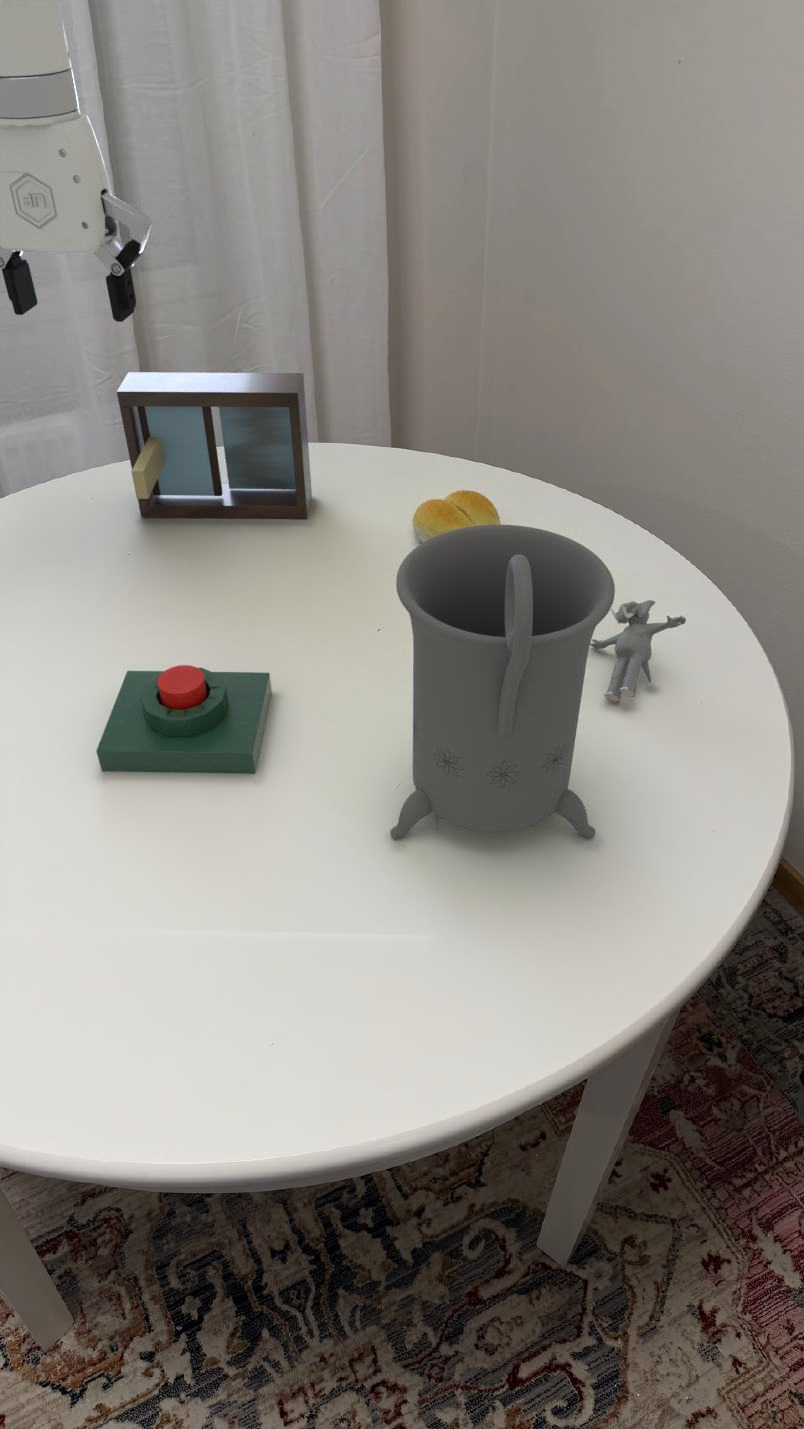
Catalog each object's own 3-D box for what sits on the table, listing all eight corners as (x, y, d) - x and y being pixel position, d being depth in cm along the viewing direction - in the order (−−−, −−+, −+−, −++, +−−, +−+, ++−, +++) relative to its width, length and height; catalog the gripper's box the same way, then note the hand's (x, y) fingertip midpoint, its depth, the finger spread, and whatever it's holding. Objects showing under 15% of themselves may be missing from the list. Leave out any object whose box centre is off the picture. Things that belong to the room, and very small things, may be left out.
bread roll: (399, 528, 106) (398, 493, 104) (470, 506, 110) (471, 473, 107) (440, 563, 101) (440, 528, 98) (513, 540, 104) (516, 505, 102)
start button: (156, 710, 78) (152, 693, 77) (166, 681, 81) (162, 664, 80) (202, 711, 78) (199, 693, 77) (210, 682, 81) (207, 665, 80)
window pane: (137, 531, 103) (117, 435, 96) (154, 492, 109) (137, 400, 102) (209, 532, 102) (195, 436, 96) (222, 493, 109) (210, 400, 102)
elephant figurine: (552, 690, 86) (577, 606, 90) (596, 726, 88) (619, 643, 92) (646, 665, 78) (669, 574, 82) (691, 705, 81) (711, 615, 85)
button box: (101, 771, 78) (91, 733, 76) (132, 690, 86) (123, 653, 83) (255, 774, 78) (249, 735, 75) (272, 692, 85) (267, 655, 83)
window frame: (141, 517, 108) (116, 391, 99) (151, 495, 112) (128, 372, 103) (307, 519, 108) (297, 392, 99) (312, 496, 112) (303, 373, 103)
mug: (391, 724, 82) (385, 436, 66) (572, 723, 82) (610, 435, 66) (389, 906, 68) (381, 596, 52) (608, 904, 68) (669, 594, 52)
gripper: (-95, 102, 80) (-32, 321, 91) (109, 109, 77) (147, 334, 88) (-44, 86, 85) (9, 294, 96) (147, 92, 82) (179, 305, 94)
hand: (75, 313), depth 92 cm, fingers open, 9 cm apart
